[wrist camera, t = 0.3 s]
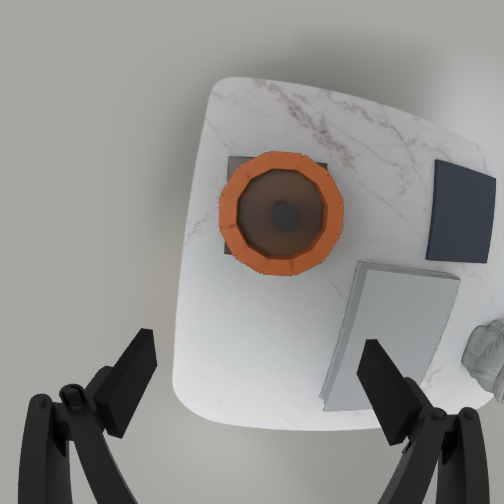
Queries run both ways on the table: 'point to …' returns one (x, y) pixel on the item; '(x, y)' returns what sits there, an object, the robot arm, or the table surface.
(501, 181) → the table surface
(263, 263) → the ring
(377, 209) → the table surface
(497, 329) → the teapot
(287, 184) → the ring stand
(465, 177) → the mat
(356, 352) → the book
